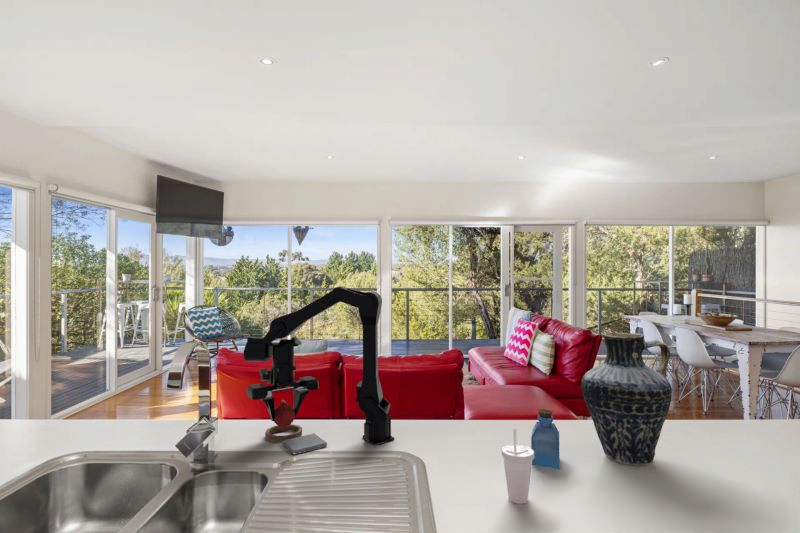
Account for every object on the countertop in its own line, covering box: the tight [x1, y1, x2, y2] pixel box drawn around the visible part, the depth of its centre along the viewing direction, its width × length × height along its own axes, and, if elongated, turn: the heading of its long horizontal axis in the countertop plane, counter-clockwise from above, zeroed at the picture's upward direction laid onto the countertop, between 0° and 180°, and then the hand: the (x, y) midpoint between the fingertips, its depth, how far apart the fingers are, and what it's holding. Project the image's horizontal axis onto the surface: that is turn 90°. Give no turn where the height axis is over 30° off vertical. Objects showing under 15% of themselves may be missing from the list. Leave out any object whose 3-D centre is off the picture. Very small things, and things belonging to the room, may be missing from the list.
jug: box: [581, 331, 673, 466], centre depth 109 cm, size 21×19×30 cm
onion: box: [273, 399, 296, 429], centre depth 125 cm, size 6×6×8 cm
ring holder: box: [264, 423, 303, 444], centre depth 125 cm, size 10×10×2 cm
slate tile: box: [282, 433, 328, 454], centre depth 118 cm, size 9×8×1 cm
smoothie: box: [501, 427, 534, 505], centre depth 90 cm, size 6×6×14 cm
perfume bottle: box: [530, 408, 560, 470], centre depth 107 cm, size 6×6×12 cm
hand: (283, 418), depth 125 cm, fingers closed on onion, 6 cm apart
